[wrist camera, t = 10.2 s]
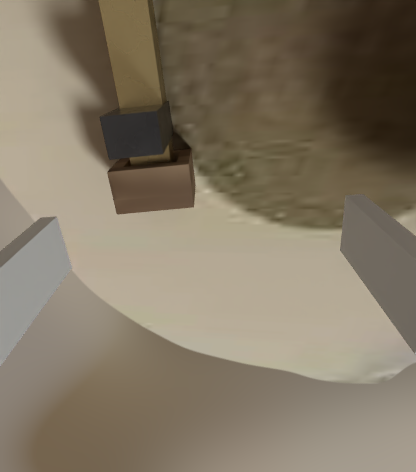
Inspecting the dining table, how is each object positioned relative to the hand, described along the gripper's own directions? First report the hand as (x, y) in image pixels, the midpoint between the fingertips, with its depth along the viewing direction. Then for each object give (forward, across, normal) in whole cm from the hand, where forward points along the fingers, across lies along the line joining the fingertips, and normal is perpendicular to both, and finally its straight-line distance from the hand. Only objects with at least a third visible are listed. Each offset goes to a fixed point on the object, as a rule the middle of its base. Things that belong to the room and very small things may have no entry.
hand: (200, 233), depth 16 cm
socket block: (+21, -5, -2) cm, 21 cm away
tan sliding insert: (+19, -5, +7) cm, 21 cm away
